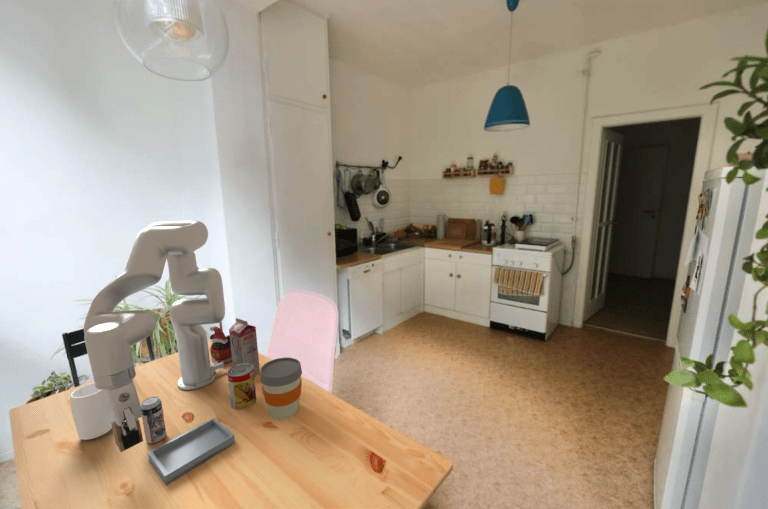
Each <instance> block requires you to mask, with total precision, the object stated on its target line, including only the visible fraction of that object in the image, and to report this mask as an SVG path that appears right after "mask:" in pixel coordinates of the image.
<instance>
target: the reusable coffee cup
mask: <svg viewBox="0 0 768 509" xmlns="http://www.w3.org/2000/svg"><path fill="white" fill-rule="evenodd" d="M259 373H260V376H259V378H260V379H259V380H260V382H261V385H262V386H261V391H262V394H263V398H264V399H263V400H264V402H265V403H266V405H267V408H268V412H269V416H270V417H271V418H272V419H275V420H284V419H288V418H291V417H293V416H294V415H295V414H296V413H297V412H298V411H299V406H300V404H299V403H300V397H301V395H302V382H303V381H302V373H303V370H302V363H301V361H300V360H298V359H296V358H293V357H278V358H275V359H272V360H269V361H267V362H266V363H264V364H263V365H262V366H261V368H260V372H259Z"/></svg>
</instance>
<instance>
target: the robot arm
mask: <svg viewBox="0 0 768 509" xmlns="http://www.w3.org/2000/svg"><path fill="white" fill-rule="evenodd" d="M208 238H209V231H208V227H207V226H206V224H205V223H203V222H202V221H200V220H176V221H175V220H171V221H170V220H169V221H157V222H153V223H151V224H149V225H148V226H147V227H145V228H143V229H140V231H139V232H138V233H137V235H136V237H135V239H134V243H133V245H132V249H131V251H130V254H129V258H128V260H127V262H126V266H125V269H124V271H123V273H121V274H120V275H119V276H117V277H115V278H114V279H113V280H111V281H110V282H109V283H108V284H107V285H106V286H104V287H103V288H102V289H101V290H100V291H98V293H97V294H96V295H95V297H94V298H93V299H92V302H91V303H90V306H89V309H88V312H87V314H86V317H85V319H84V320H85V321H84V324H83V334H84V343H85V348H86V352H87V357H88V361H89V366H90V369H91V372H92V373H91V374H92V378H93V381H94V382H93V383H95V387H96V388H97V389H99V390H103V393H104V397H105V401H106V405H107V408H108V410H109V413H110V414H111V416H112V418H113V419H114V421H115V422H116V424H117V425H118V426H121V430H122V435H121V437H122V441H123V446H124V449H127V450H129V449H131V448H132V446H133V447H135V446H136V444H137V445H139V444H140V443H141V442H140V436H139V431H138V428H137V424H136V421H135V417H134V415H135V416H136V417H137V418H138V419H140V418H141V419H142V415H143V414H142V410H141V403H140V399H139V396H138V395H139V394H138V392H137V388H136V385H135V382H134V379H135V378H136V376H137V375H136V368H135V363H134V358H133V353H132V349H131V348H132V346H134V345H135V344H137V343H140V342H142V341H144V340H145V339H147V338H148V337H150V336H151V335H152V334H153V332H154V331H155V329H156V326H157V318H156V316H155V315H154V314H153V312H151V311H149V310H142V309H140V310H139V309H136V310H118V311H116V310H115V309H116V308H117V306H118V305H120V303H122V301H124V300H125V299H126V298H128V297H130V296H132V295H134V294H137V293H139V292H141V291H144V290H145V289H147V288H150V287H152V286H154V285H156V284H158V283H160V281H162V280H161V279H162V277H163V273H164V269H165V266H166V263H167V266H168V274H169V282H170V288H171V291H172V293H173V294H174V295H175V296H178V297H186V296H188V297H191V296H193V297H191V298H181V299H178V300H176V301H174V302H172V304H171V305H170V307H169V311H168V314H169V316H168V317H169V318H170V322H171V324H172V326H173V330H174V333H175V340H176V341H175V342H176V346H177V354H178V361H179V369H180V376H181V377H180V378H178V380H177V387H178V388H179V389H180V390H184V391H185V390H186V391H190V390H196V389H201V388H204V387H205V386H208V385H210V384H211V383H212V382H214V380H216V378H217V373H216V371H217V370H218V369H222V368H224V367H225V362H224V363H223V362H221V363H217V362H215V363H214V362H212V363H211V360H210V353H209V352H210V350H209V343H208V335H207V332H206V330H205V328H204V326H202V325H211V324H212V325H215V324H219V322H221V321H224V319H225V316H226V305H225V303H226V302H225V294H224V288H223V287H224V285H223V279H222V278H223V277H222V275H221V273H220V271H219V270H218V269H216V268H213V267H201V268H200V267H198V263H197V258H196V253H195V251H197V250H199V249H200V248H203V246H205V245H206V243H207V241H208ZM194 296H205V297H194ZM124 419H126V420H125V421H123V420H124ZM126 424H127V426H128V427H126V429H125V427H124V425H126ZM139 442H140V443H139ZM138 443H139V444H138ZM134 445H135V446H134ZM130 447H131V448H130ZM128 448H129V449H128Z"/></svg>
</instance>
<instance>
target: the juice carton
mask: <svg viewBox="0 0 768 509" xmlns="http://www.w3.org/2000/svg"><path fill="white" fill-rule="evenodd" d="M228 332H229V333H228V334H229V335H230V343H231V352H232V360H231V361H232V367H233V366H235V365H237V364H242V363H249V364H252V365H253V369H254V376H255V375H257V374H258V373H260V371H261V368H260V360H259V359H260V357H259V347H258V340H257V338H258V336H257V327H256V326H254V325H251V324H249V323H248V321H247V320H244V319H241V318H237V317H236V318H235V322H234V324H233V325H232V326H230V327H229V329H228Z"/></svg>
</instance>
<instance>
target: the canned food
mask: <svg viewBox="0 0 768 509" xmlns="http://www.w3.org/2000/svg"><path fill="white" fill-rule="evenodd" d="M226 372H227V374H226V375H227V383H228V392H229V400H230V407H231V408H232V409H233V410H236V411H238V410H239V411H240V410H246V409H248V408H251V407H252V406H253V405H255V404H256V402H257V390H256V381H255V375H254V369H253V365H252V364H249V363H242V364H237V365H235V366H233V365H232V366H231V367H229V369H228V370H227V371H226Z"/></svg>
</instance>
